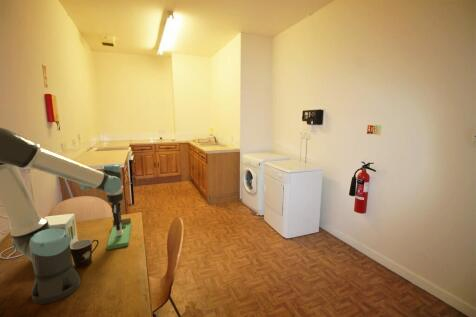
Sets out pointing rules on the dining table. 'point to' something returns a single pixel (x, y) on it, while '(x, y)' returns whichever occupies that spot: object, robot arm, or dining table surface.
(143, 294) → the dining table surface
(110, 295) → the dining table surface
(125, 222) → the green
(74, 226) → the supplement box
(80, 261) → the coffee mug
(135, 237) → the dining table surface
